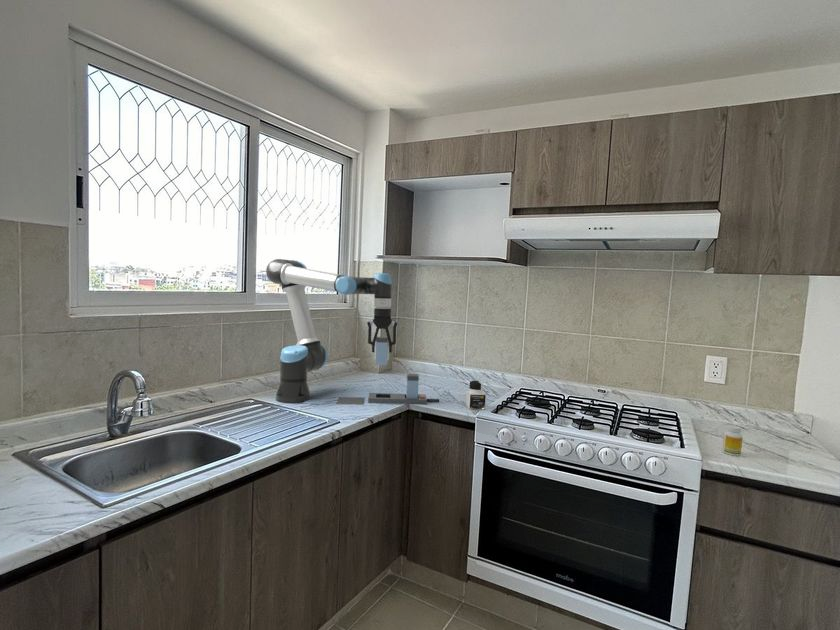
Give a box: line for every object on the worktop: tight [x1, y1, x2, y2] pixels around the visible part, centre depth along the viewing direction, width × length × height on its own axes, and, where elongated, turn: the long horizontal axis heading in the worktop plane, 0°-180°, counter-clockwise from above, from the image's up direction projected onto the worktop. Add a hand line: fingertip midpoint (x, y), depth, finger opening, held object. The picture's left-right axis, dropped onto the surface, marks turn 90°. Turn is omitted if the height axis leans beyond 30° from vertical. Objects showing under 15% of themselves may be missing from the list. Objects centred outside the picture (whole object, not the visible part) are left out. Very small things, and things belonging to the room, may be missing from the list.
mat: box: [335, 396, 366, 406], centre depth 202 cm, size 12×12×1 cm
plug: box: [375, 336, 389, 366], centre depth 200 cm, size 5×5×12 cm
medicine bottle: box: [465, 380, 487, 410], centre depth 201 cm, size 7×7×12 cm
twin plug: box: [405, 373, 420, 399], centre depth 203 cm, size 5×5×12 cm
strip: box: [367, 392, 440, 406], centre depth 203 cm, size 32×10×4 cm, turn 94°
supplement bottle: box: [722, 424, 744, 457], centre depth 158 cm, size 5×5×10 cm
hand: (381, 359), depth 201 cm, fingers closed on plug, 5 cm apart
